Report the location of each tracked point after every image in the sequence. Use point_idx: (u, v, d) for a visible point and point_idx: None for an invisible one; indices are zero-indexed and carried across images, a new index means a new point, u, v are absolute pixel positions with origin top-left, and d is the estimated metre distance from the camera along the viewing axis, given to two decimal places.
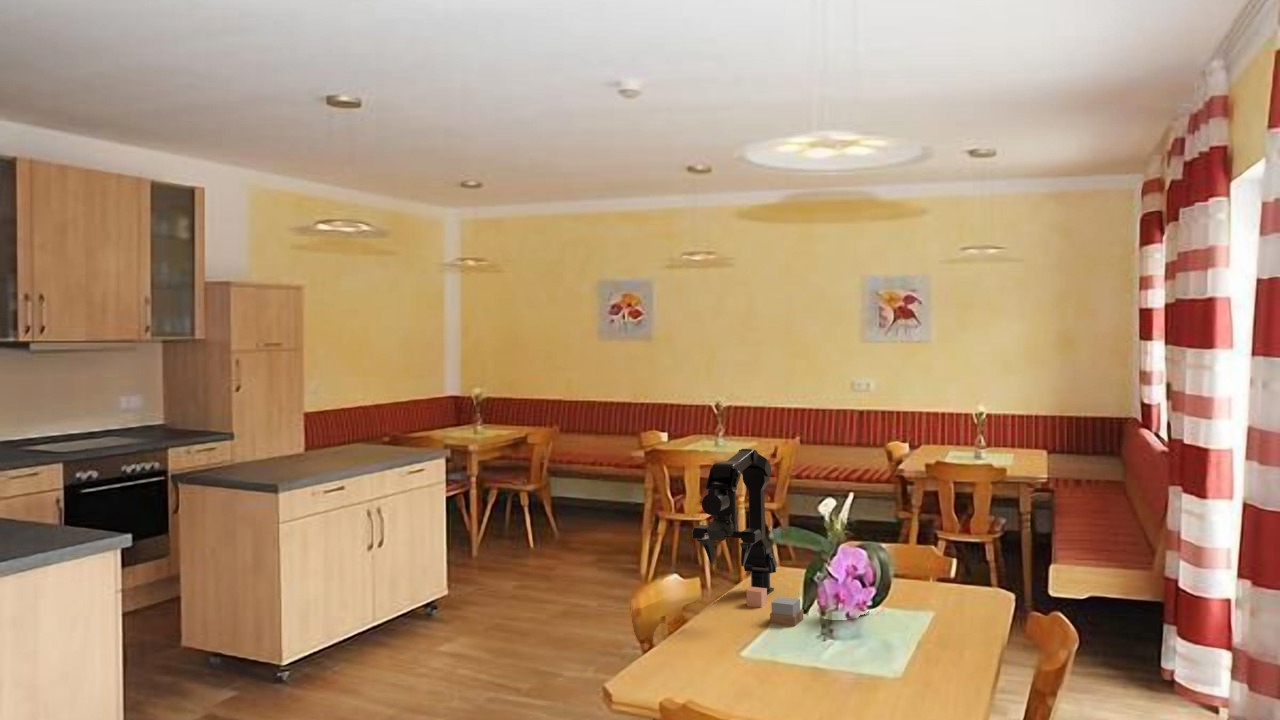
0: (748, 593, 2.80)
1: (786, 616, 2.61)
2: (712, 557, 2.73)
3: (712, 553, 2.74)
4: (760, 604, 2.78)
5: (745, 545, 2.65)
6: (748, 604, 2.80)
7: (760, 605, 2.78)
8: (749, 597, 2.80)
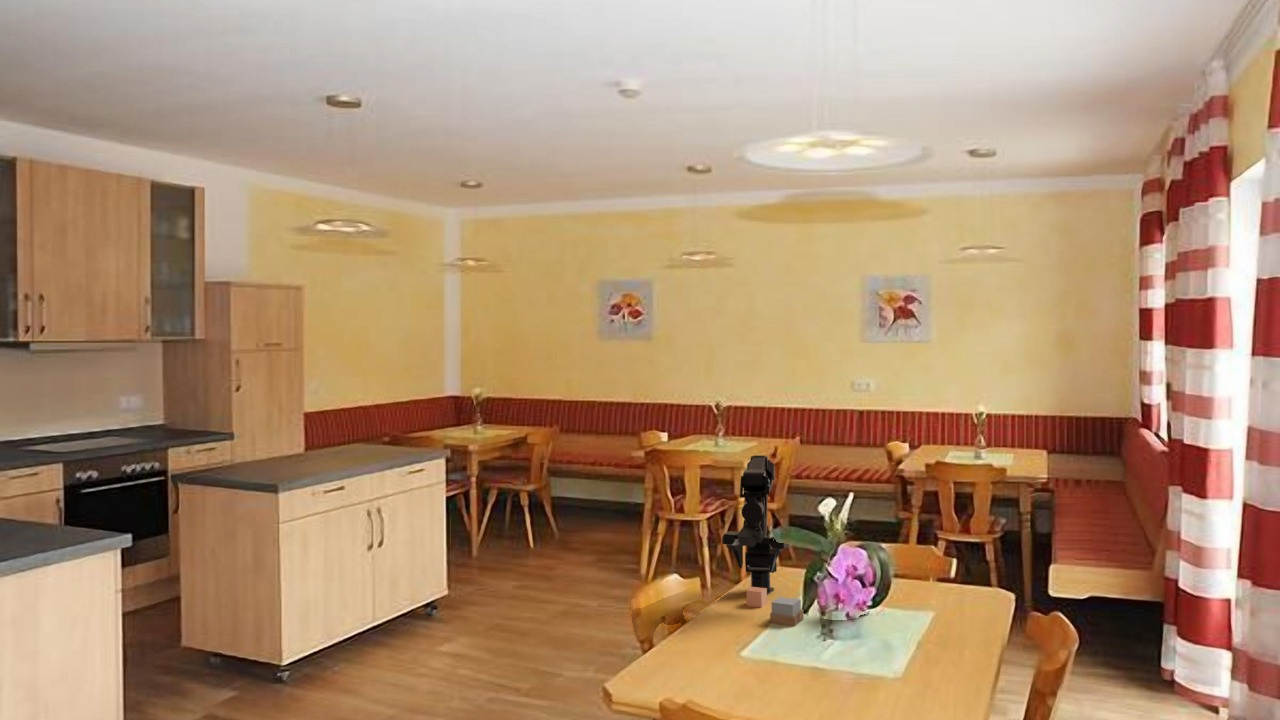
0: (748, 593, 2.80)
1: (786, 616, 2.61)
2: (741, 562, 2.83)
3: (742, 558, 2.84)
4: (760, 604, 2.78)
5: (774, 551, 2.75)
6: (748, 604, 2.80)
7: (760, 605, 2.78)
8: (749, 597, 2.80)
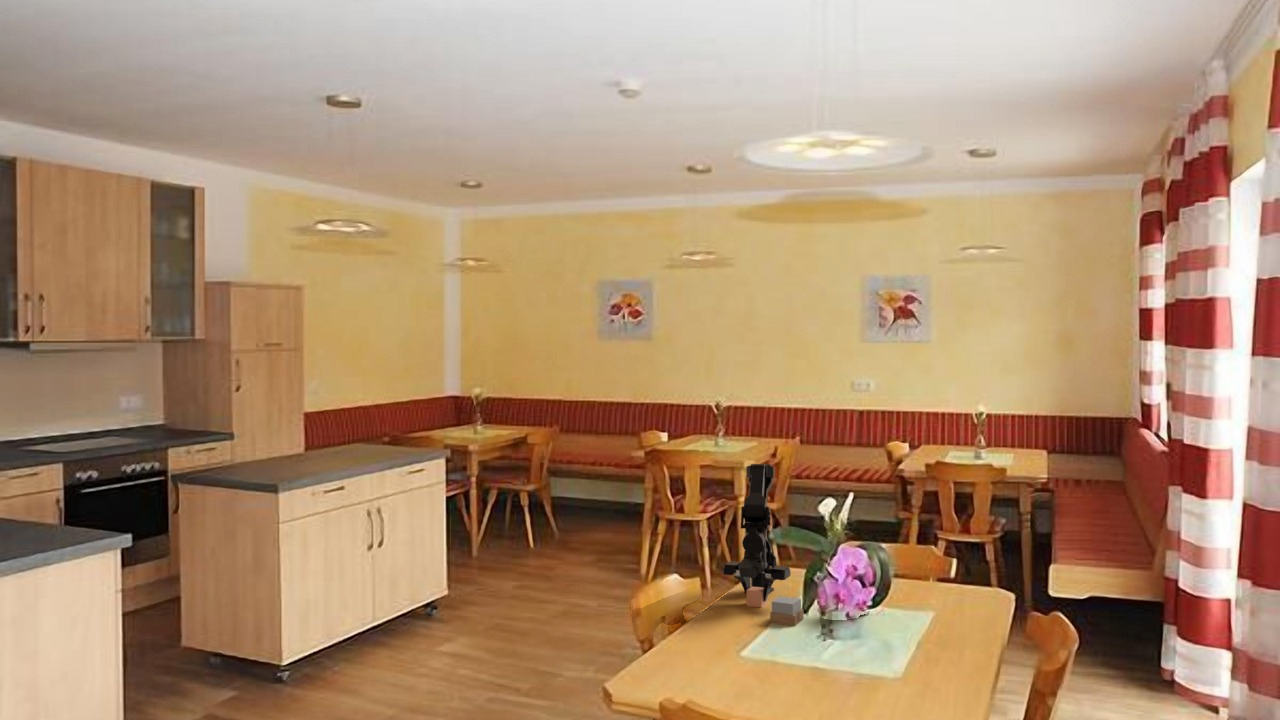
0: (748, 593, 2.80)
1: (786, 615, 2.61)
2: None
3: None
4: (760, 604, 2.78)
5: (767, 581, 2.77)
6: (748, 604, 2.80)
7: (760, 605, 2.78)
8: (749, 597, 2.80)
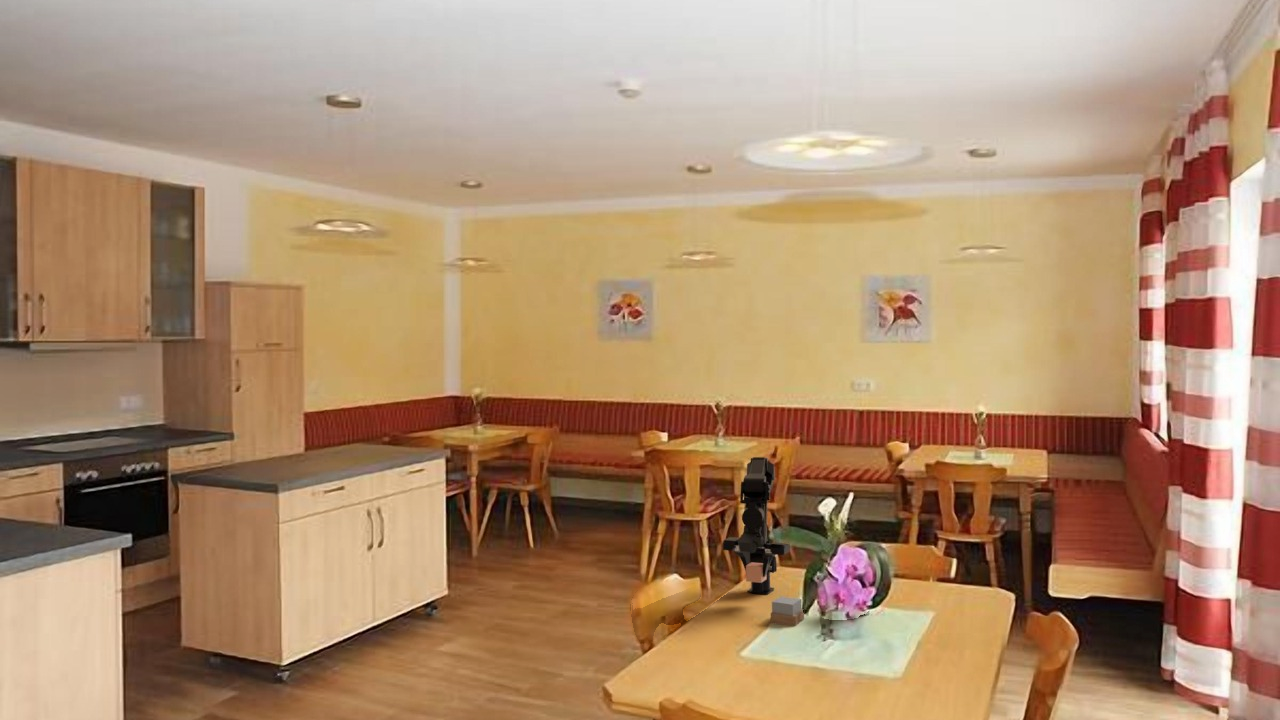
0: (747, 568, 2.80)
1: (787, 616, 2.61)
2: None
3: None
4: (759, 579, 2.78)
5: (767, 556, 2.76)
6: (747, 579, 2.80)
7: (759, 580, 2.78)
8: (748, 572, 2.79)
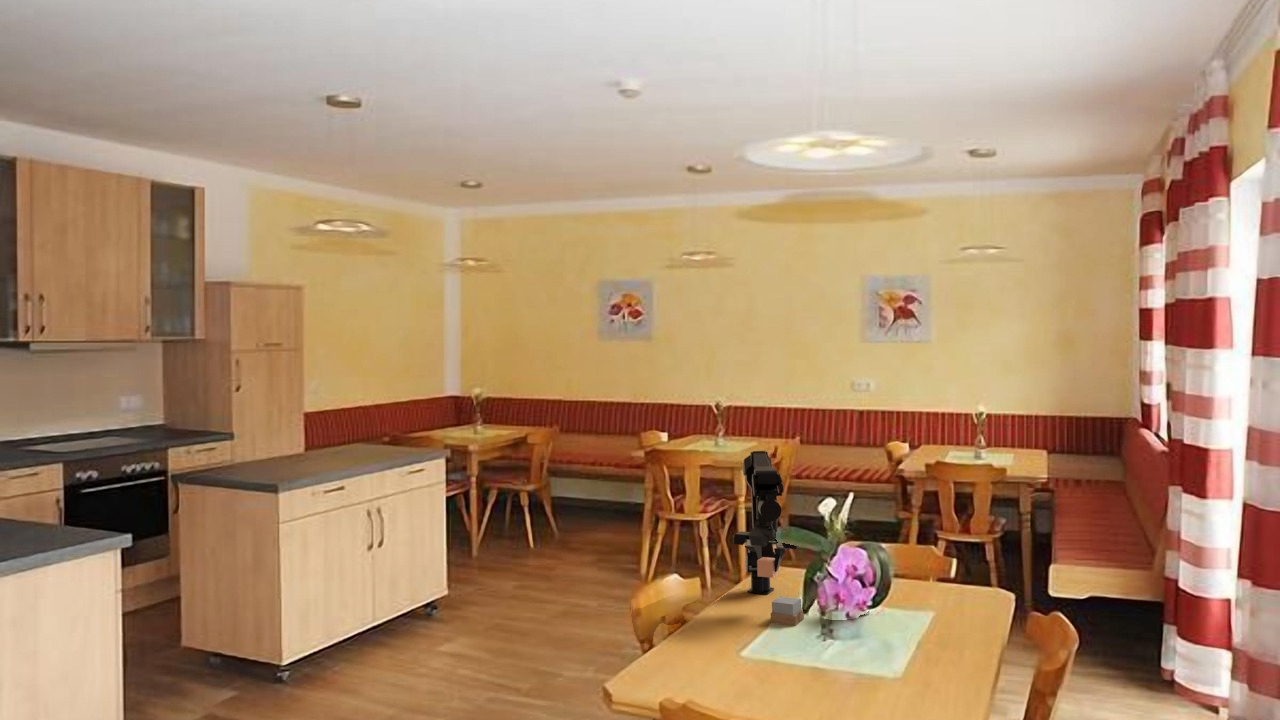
0: (759, 563, 2.72)
1: (787, 616, 2.61)
2: None
3: None
4: (771, 574, 2.71)
5: (779, 550, 2.69)
6: (759, 574, 2.72)
7: (771, 575, 2.71)
8: (760, 567, 2.72)
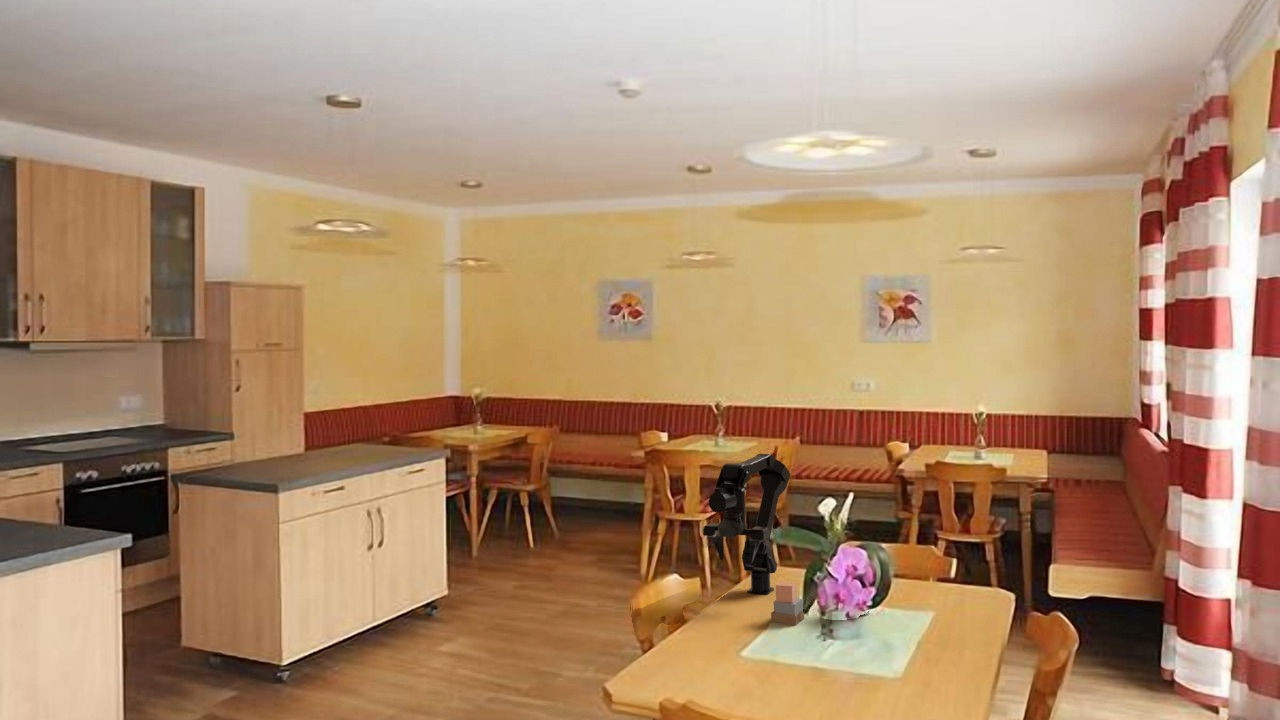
0: (777, 588, 2.63)
1: (787, 615, 2.62)
2: (722, 554, 2.86)
3: (722, 550, 2.86)
4: (791, 599, 2.62)
5: (754, 542, 2.78)
6: (778, 599, 2.63)
7: (791, 600, 2.62)
8: (779, 592, 2.63)
